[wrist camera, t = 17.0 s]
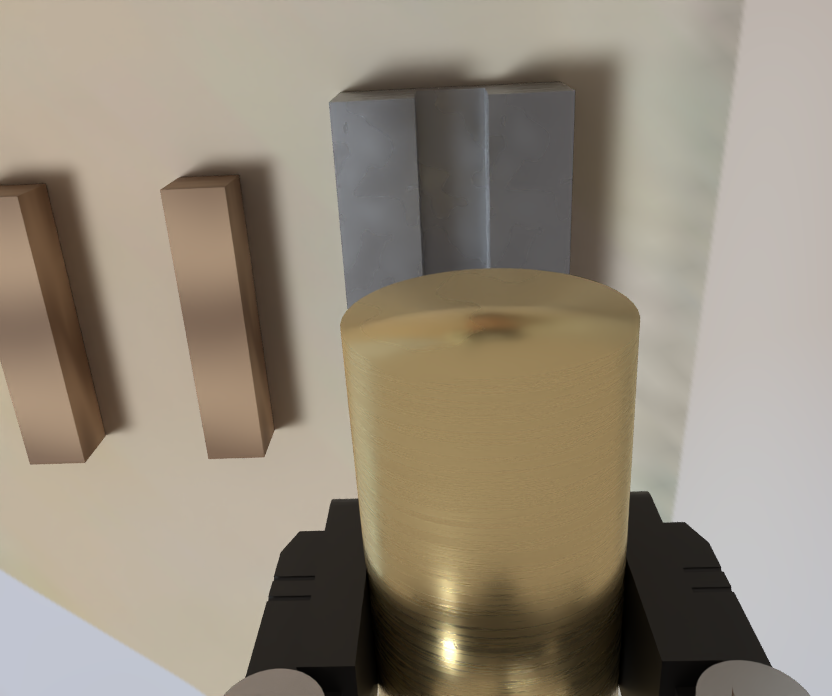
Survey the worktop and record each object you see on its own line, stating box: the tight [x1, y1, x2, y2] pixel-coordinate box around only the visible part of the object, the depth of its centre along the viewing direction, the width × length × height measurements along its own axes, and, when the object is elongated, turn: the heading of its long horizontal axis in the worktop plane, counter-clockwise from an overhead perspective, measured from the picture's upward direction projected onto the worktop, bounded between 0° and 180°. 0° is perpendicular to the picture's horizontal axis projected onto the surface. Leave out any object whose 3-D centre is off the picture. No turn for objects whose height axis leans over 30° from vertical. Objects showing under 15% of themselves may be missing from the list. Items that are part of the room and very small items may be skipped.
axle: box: [340, 268, 640, 696], centre depth 12 cm, size 10×4×4 cm, turn 4°
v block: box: [329, 82, 575, 309], centre depth 31 cm, size 12×9×4 cm
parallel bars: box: [0, 175, 274, 464], centre depth 34 cm, size 12×11×2 cm
